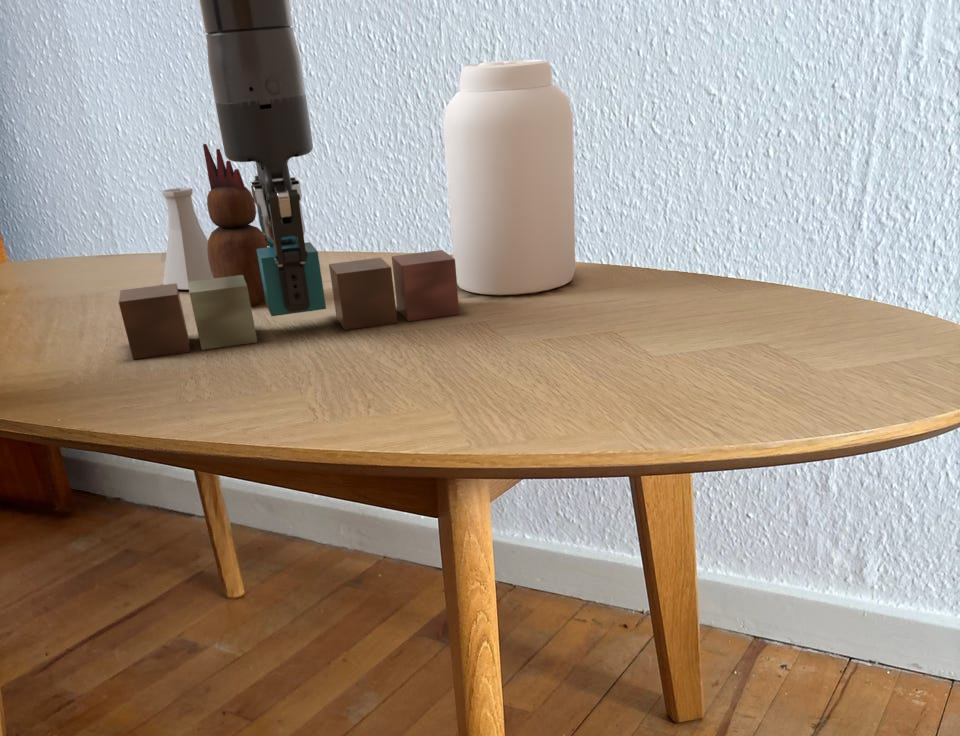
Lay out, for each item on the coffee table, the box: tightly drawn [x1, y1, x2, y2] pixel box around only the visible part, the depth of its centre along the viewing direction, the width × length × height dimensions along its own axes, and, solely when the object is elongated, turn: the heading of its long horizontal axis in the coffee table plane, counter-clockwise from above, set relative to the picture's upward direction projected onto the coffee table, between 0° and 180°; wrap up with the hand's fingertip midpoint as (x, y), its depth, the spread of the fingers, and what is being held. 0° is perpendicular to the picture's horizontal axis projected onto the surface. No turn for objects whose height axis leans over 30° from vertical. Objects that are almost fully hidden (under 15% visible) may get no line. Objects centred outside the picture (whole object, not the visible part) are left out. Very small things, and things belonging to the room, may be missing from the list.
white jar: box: [442, 59, 576, 296], centre depth 98 cm, size 12×12×20 cm
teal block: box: [256, 241, 327, 317], centre depth 91 cm, size 5×5×5 cm
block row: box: [118, 249, 460, 360], centre depth 92 cm, size 30×5×5 cm, turn 106°
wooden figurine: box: [202, 143, 269, 307], centre depth 100 cm, size 7×6×15 cm
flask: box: [160, 187, 214, 290], centre depth 111 cm, size 7×7×10 cm
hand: (294, 302), depth 92 cm, fingers closed on teal block, 5 cm apart
